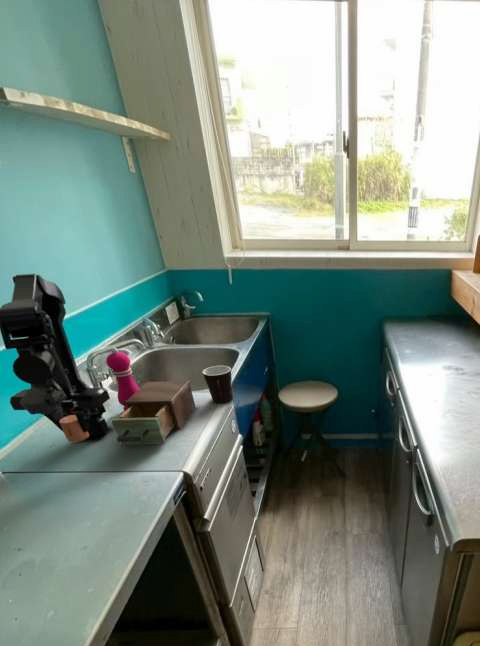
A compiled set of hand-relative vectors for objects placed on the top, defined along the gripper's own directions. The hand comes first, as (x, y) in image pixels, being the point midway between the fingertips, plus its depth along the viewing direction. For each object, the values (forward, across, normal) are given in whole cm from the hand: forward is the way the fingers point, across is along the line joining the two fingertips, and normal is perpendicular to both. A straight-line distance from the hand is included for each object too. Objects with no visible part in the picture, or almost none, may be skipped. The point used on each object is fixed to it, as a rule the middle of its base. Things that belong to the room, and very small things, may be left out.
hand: (76, 431), depth 93 cm
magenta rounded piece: (+9, -2, +30) cm, 32 cm away
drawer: (+8, +10, +12) cm, 17 cm away
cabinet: (+9, +10, +24) cm, 28 cm away
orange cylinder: (+2, 0, 0) cm, 2 cm away
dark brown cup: (+9, +23, +36) cm, 44 cm away
